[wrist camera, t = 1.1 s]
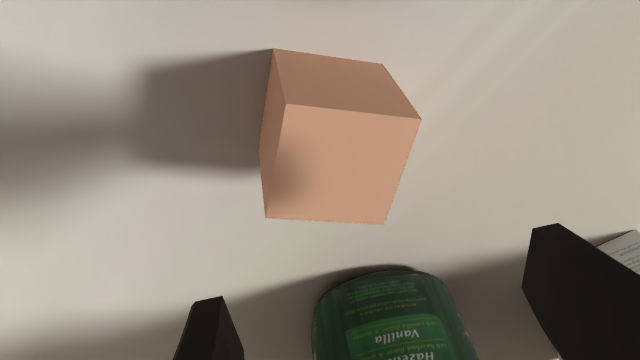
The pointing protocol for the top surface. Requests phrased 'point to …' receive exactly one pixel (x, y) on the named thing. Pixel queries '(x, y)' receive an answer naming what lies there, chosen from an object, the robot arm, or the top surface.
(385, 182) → the terracotta block
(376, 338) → the coffee jar
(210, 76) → the top surface
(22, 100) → the top surface
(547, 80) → the top surface
